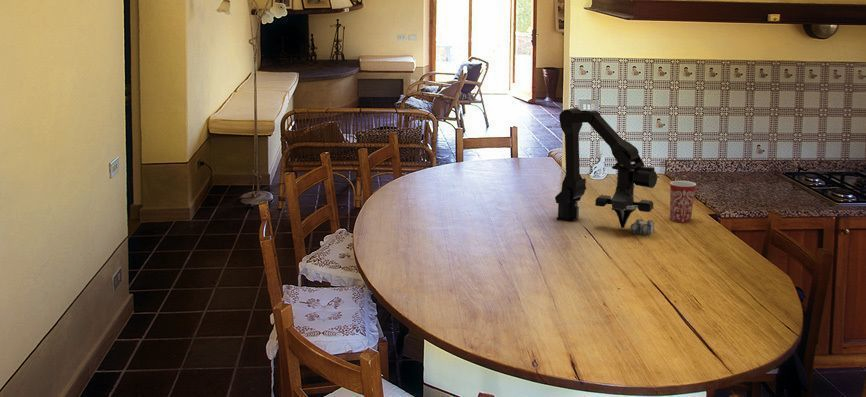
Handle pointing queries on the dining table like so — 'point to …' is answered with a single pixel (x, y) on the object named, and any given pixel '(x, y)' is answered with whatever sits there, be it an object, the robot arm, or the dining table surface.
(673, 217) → the mug
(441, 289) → the dining table surface
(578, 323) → the dining table surface
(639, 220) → the block with round pegs
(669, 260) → the dining table surface
